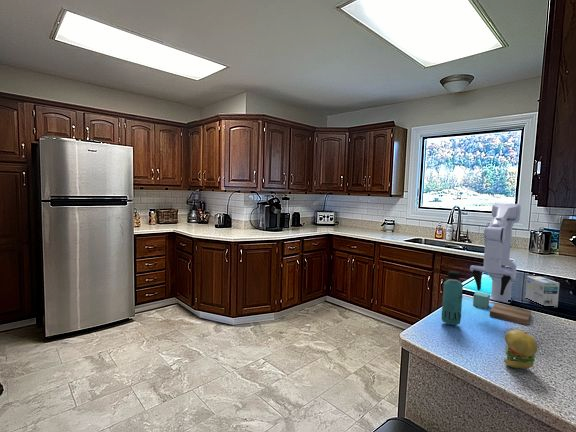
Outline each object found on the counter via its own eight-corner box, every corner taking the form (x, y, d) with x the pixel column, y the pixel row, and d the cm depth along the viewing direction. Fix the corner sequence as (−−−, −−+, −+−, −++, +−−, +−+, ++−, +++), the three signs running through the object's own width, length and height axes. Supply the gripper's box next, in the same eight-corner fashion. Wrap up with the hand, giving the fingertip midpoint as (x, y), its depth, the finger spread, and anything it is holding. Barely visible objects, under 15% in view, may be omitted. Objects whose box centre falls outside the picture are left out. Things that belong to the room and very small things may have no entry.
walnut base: (494, 307, 134) (495, 303, 134) (530, 315, 126) (530, 310, 126) (489, 316, 125) (489, 311, 125) (527, 325, 117) (527, 319, 117)
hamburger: (521, 361, 92) (525, 321, 91) (542, 376, 85) (546, 333, 84) (496, 362, 92) (499, 321, 90) (514, 376, 84) (518, 333, 83)
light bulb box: (558, 307, 136) (560, 282, 135) (542, 307, 136) (544, 282, 135) (539, 298, 146) (541, 275, 145) (524, 298, 147) (526, 275, 146)
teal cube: (475, 302, 140) (476, 291, 140) (488, 305, 137) (489, 294, 136) (472, 305, 136) (473, 294, 136) (486, 308, 133) (487, 297, 133)
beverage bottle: (440, 326, 115) (443, 272, 113) (441, 320, 120) (444, 268, 119) (460, 330, 112) (464, 275, 110) (460, 323, 117) (464, 270, 116)
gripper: (468, 256, 124) (466, 290, 125) (513, 262, 114) (510, 299, 115) (473, 253, 129) (471, 286, 130) (517, 259, 119) (514, 295, 120)
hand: (490, 292), depth 123 cm, fingers open, 7 cm apart
